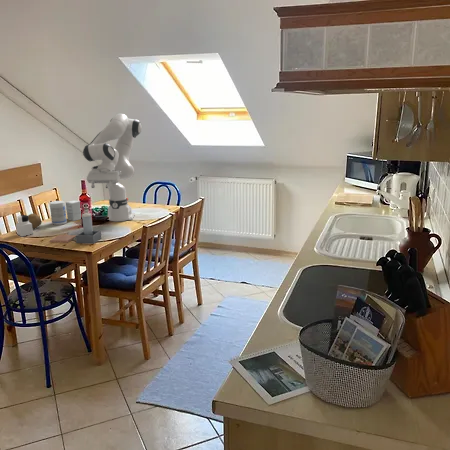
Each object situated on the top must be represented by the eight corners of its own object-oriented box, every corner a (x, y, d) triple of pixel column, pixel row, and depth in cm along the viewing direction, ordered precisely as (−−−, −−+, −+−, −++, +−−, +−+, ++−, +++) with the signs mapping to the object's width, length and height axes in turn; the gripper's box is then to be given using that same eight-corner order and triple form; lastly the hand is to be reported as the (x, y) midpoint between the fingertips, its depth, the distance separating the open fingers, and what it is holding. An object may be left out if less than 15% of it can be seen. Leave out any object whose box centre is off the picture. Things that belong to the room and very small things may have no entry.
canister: (86, 239, 260) (84, 212, 256) (95, 239, 260) (92, 213, 255) (82, 241, 255) (80, 215, 251) (91, 242, 255) (88, 215, 250)
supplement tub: (68, 224, 294) (66, 202, 290) (53, 226, 289) (51, 204, 285) (64, 220, 302) (62, 200, 298) (50, 223, 297) (47, 201, 293)
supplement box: (76, 217, 311) (74, 200, 308) (82, 218, 307) (80, 201, 303) (67, 219, 305) (65, 201, 302) (73, 221, 301) (71, 203, 298)
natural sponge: (23, 229, 281) (21, 214, 278) (33, 226, 289) (31, 211, 286) (34, 231, 278) (32, 215, 275) (44, 227, 286) (42, 212, 283)
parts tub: (84, 237, 263) (83, 230, 262) (101, 238, 262) (100, 231, 261) (76, 242, 253) (75, 235, 252) (93, 243, 252) (93, 236, 251)
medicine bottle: (28, 232, 276) (26, 213, 272) (33, 234, 271) (30, 215, 267) (17, 234, 271) (14, 215, 268) (21, 236, 266) (18, 217, 263)
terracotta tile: (59, 236, 266) (59, 234, 266) (76, 237, 264) (76, 235, 264) (50, 241, 255) (49, 240, 255) (67, 242, 254) (67, 240, 254)
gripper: (123, 174, 274) (117, 191, 266) (93, 173, 278) (86, 190, 270) (120, 167, 269) (113, 184, 261) (89, 166, 273) (82, 183, 265)
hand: (99, 187), depth 265 cm, fingers open, 8 cm apart
